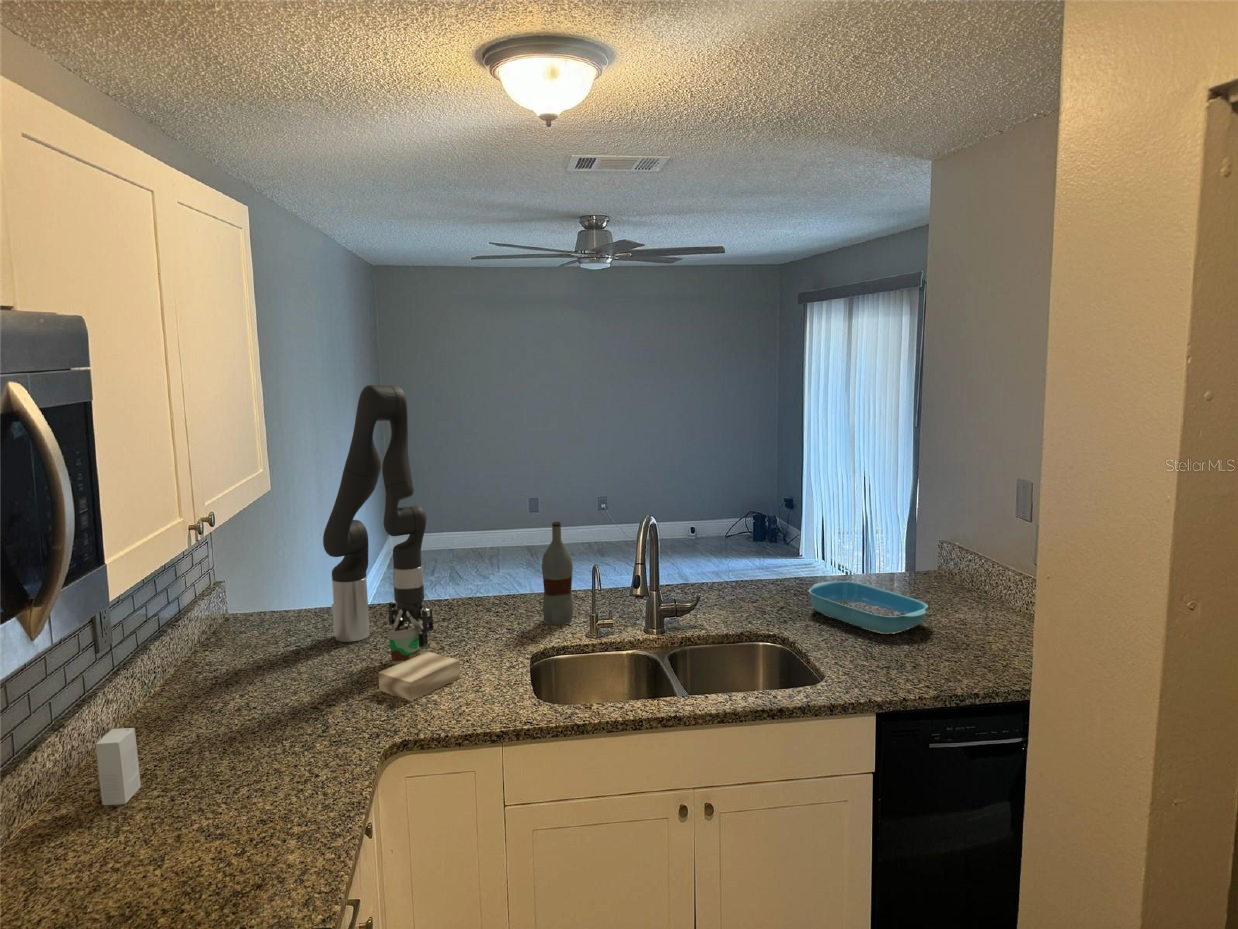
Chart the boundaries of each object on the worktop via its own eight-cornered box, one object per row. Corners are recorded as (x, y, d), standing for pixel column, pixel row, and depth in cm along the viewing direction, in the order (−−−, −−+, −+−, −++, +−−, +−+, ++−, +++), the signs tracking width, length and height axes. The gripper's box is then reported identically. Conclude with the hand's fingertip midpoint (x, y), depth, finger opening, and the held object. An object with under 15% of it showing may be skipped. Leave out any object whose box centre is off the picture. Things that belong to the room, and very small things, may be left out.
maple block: (379, 692, 200) (378, 672, 199) (428, 670, 213) (427, 651, 212) (411, 702, 194) (410, 682, 193) (460, 679, 207) (459, 660, 206)
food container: (411, 671, 212) (410, 633, 210) (389, 669, 213) (387, 631, 211) (432, 653, 224) (431, 617, 222) (411, 651, 225) (409, 616, 223)
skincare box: (117, 788, 156) (111, 728, 155) (141, 787, 157) (135, 727, 155) (100, 806, 150) (94, 743, 149) (125, 805, 151) (119, 742, 149)
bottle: (556, 614, 255) (554, 518, 251) (580, 619, 250) (578, 521, 246) (536, 622, 248) (534, 523, 243) (560, 628, 242) (558, 527, 238)
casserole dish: (942, 628, 241) (944, 604, 240) (894, 645, 228) (895, 620, 227) (841, 597, 270) (841, 576, 269) (793, 610, 258) (794, 588, 257)
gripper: (378, 583, 216) (382, 643, 219) (416, 591, 209) (420, 653, 211) (401, 576, 223) (404, 634, 225) (438, 583, 215) (441, 644, 217)
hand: (411, 643), depth 218 cm, fingers open, 8 cm apart
